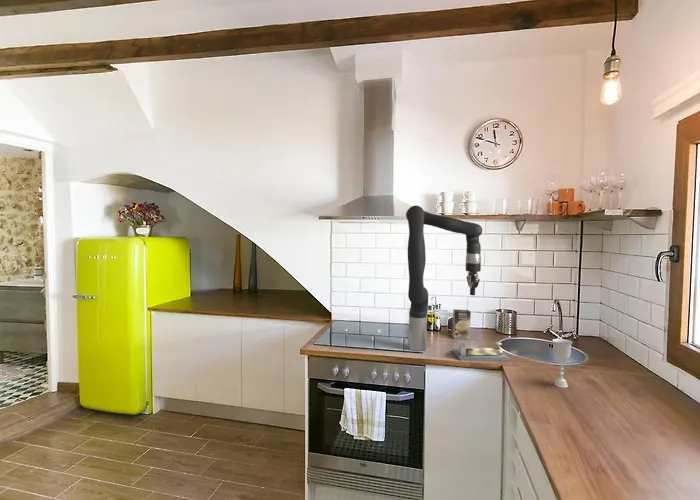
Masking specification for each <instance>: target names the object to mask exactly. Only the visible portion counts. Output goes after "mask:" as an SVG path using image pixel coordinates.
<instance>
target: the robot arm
mask: <svg viewBox="0 0 700 500" xmlns="http://www.w3.org/2000/svg"><path fill="white" fill-rule="evenodd" d="M405 218H406V220H407V224H408V231H409V233H408V239H407V265H408V266H407V268H408V277H409V279H408V294H407V295H408V297H407V298H408V300H409V301H410V307H409V311H408V312H409V313H408V315H409V316H408V318H409V319H408V331H407V347H408V349H409V350H410V351H414V352H415V351H416V352H423V351H426V350H427V341H428V340H427V327H428V325H427V324H428V310H429V292H428V289H427V288H426V287H425V286H424V274H425V268H426V260H427V257H426V244H425V243H426V242H425V235H424V233H425V232H424V225H426V226H431V227H434V228H438V229H441V230H444V231H449V232H451V233H455V234H462V235H465V239H466V254H465V255H466V256H465V271H466V272H468V275H466V281H467V286H468V287H469V295H470V296H475V295H476V288H478V287H479V283H480V278H479V273H478V272H481V269H482V267H481V265H482V260H481V259H482V256H481V255H482V254H481V253H482V252H481V251H482V250H481V247H482V246H481V243H480V236H481V235H482V234H483V227H482V226H481V225H480V224H478V223H474V222H470V221H464V220H461V219H459V218H455V217H454V218H453V217H451V216H450V217H449V216H446V215H438V214H434V213H430V212H429V211H425V210H424V208H423V207H421V206H419V205H412V206H411V207H409V208H408V209H407V211H406V213H405Z"/></svg>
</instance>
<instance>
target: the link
mask: <svg viewBox="0 0 700 500" xmlns="http://www.w3.org/2000/svg"><path fill="white" fill-rule="evenodd" d="M503 353H504V352H503V348H501V347H500V349H497V347H491V348H490V347H478V349H466V354H467V355H503Z"/></svg>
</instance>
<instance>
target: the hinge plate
mask: <svg viewBox="0 0 700 500" xmlns="http://www.w3.org/2000/svg"><path fill="white" fill-rule="evenodd" d="M494 344H495V345H496V348H497V349H500V348H501V346H502V345H503V343H502V342H499V341H496V342H495V343H494ZM451 352H452V353H453V354H454V355H455V356H456V358H458V360H459V361H471V362H472V361H474V362H475V361H477V362H478V361H491V362H492V361H496V362H497V361H498V362H499V361H502V362H504V361H509V362H510V359H511V358H510V356H508V355H507V354H506V353H505V352H503V355H467V354H466V356H461V355H460V354H459V348H451Z"/></svg>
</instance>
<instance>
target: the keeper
mask: <svg viewBox="0 0 700 500" xmlns="http://www.w3.org/2000/svg"><path fill="white" fill-rule="evenodd" d="M478 348H479V345H478V344H476V343H475V342H474V341H473V340H470V339H460V340H459V343H458V349H459V354H460V355H461V356H466V349H478Z"/></svg>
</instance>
